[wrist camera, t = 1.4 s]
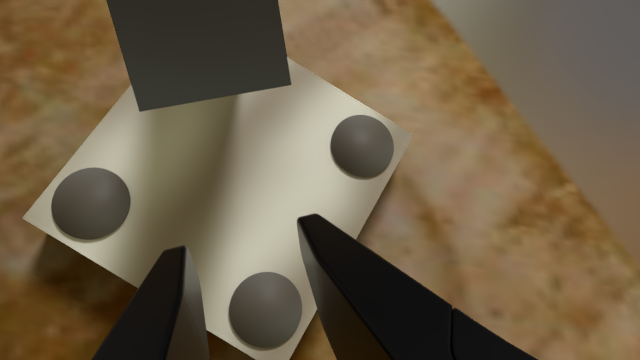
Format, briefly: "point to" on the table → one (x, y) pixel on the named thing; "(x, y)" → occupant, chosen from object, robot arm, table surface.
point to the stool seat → (226, 196)
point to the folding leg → (199, 48)
